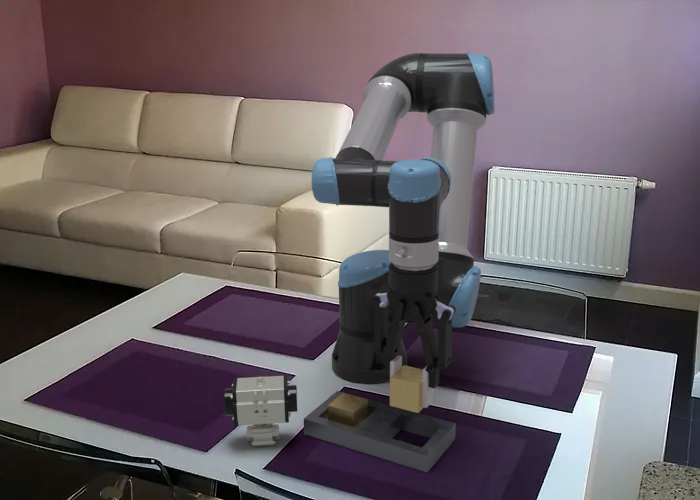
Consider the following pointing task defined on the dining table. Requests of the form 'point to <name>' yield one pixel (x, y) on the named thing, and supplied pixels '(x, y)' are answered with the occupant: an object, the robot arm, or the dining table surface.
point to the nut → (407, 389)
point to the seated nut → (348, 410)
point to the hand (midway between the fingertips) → (411, 399)
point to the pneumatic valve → (261, 406)
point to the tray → (385, 433)
